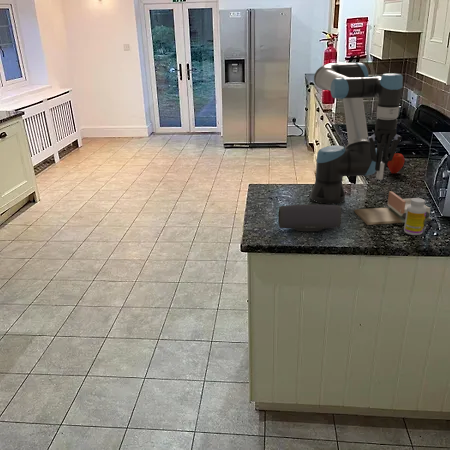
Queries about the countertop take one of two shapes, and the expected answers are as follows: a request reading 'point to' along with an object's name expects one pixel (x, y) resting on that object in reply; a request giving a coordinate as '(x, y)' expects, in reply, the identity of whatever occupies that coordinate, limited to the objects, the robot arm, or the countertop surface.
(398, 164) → the apple
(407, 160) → the door handle
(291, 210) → the bluetooth speaker
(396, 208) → the cart
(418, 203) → the supplement bottle
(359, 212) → the cutting board
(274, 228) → the countertop surface
